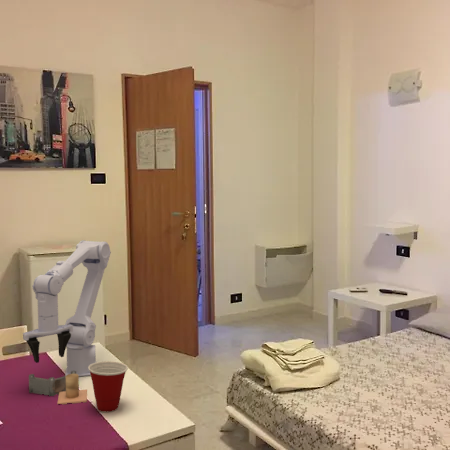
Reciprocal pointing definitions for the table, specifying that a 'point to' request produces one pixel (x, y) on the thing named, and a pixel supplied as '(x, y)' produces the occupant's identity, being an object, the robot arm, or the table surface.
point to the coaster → (79, 399)
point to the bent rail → (47, 385)
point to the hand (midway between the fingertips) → (49, 358)
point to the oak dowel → (72, 386)
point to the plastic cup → (107, 383)
